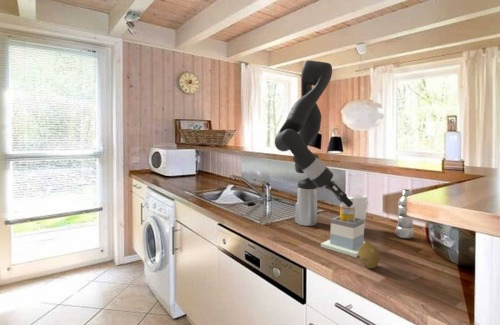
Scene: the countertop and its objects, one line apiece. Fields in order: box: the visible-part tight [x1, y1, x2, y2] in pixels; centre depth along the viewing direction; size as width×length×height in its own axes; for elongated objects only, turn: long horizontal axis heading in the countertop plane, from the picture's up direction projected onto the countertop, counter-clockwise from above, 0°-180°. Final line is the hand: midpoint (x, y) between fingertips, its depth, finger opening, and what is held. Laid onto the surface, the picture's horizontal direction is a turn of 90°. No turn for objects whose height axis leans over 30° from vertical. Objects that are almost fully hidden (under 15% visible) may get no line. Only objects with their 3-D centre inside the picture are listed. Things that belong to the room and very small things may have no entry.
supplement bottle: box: [339, 196, 355, 223], centre depth 115 cm, size 5×5×10 cm
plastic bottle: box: [395, 189, 414, 240], centre depth 127 cm, size 6×7×20 cm
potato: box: [358, 241, 381, 270], centre depth 99 cm, size 7×8×8 cm
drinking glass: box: [351, 194, 368, 228], centre depth 139 cm, size 7×7×15 cm
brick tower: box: [320, 215, 366, 258], centre depth 116 cm, size 14×14×11 cm
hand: (346, 202), depth 115 cm, fingers open, 8 cm apart
